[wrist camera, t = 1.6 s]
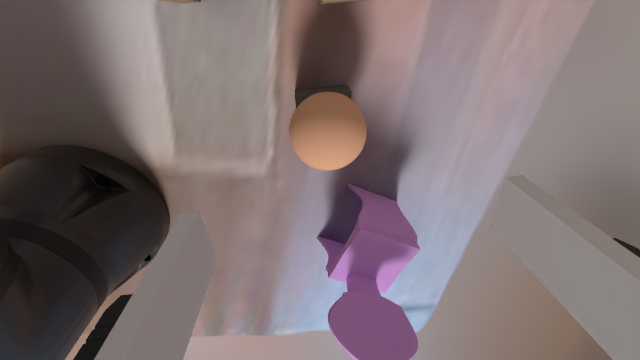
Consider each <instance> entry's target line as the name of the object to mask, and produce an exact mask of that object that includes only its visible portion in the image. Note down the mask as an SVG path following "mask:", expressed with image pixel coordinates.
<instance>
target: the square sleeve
mask: <svg viewBox="0 0 640 360" xmlns="http://www.w3.org/2000/svg"><path fill="white" fill-rule="evenodd" d="M320 92H336V93H340V94H343V95H345V96H347V97H349V98H350V99H351V91H350V89H349V88H348V87H347V85H341V86H331V87H322V88H312V89H302V90H295V101H296V108H297V107H298V106H299V105H300V104H301V103H302V102H303V101H304V100H305V99H306V98H308V97H310V96H312V95H314V94H317V93H320Z"/></svg>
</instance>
